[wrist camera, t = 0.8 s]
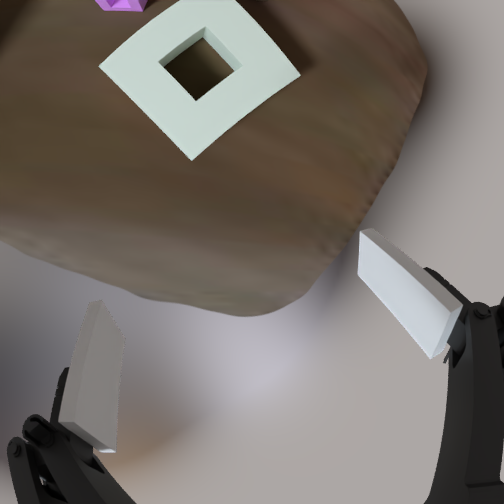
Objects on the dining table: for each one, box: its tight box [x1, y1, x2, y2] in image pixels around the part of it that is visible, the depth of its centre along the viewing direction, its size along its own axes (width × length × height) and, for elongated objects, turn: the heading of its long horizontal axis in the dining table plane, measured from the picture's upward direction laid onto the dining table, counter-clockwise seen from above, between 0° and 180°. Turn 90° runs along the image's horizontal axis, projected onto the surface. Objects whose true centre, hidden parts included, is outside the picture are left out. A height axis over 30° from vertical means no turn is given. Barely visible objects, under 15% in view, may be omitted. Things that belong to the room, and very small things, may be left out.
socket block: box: [99, 0, 301, 161], centre depth 26 cm, size 16×16×5 cm
